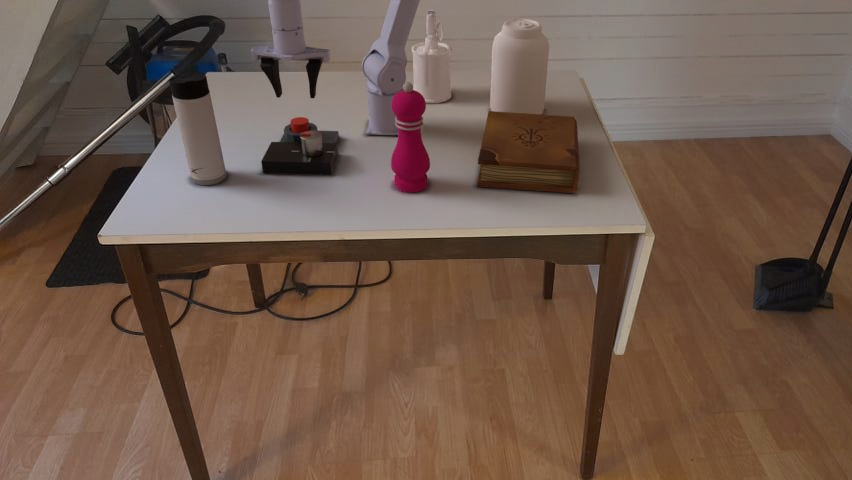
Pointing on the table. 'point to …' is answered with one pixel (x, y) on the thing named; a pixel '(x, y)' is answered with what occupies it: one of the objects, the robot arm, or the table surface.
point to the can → (519, 68)
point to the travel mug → (198, 128)
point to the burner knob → (311, 143)
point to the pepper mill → (409, 141)
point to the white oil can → (432, 64)
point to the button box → (295, 137)
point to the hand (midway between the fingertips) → (296, 96)
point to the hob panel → (298, 159)
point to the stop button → (299, 125)
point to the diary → (529, 152)
